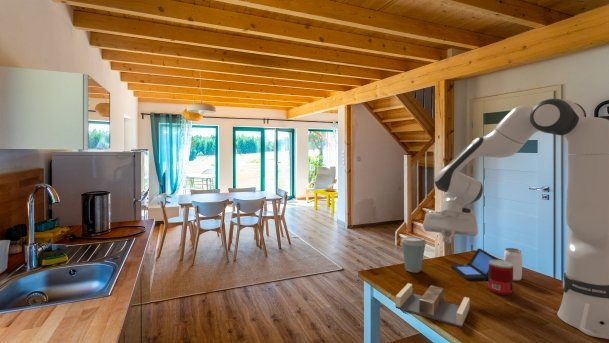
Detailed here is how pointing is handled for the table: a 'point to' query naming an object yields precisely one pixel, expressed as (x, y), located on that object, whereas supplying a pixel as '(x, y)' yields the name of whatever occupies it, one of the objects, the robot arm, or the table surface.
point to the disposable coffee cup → (413, 253)
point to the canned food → (500, 277)
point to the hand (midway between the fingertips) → (446, 241)
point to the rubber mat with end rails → (444, 311)
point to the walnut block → (431, 300)
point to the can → (514, 261)
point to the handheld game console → (475, 266)
